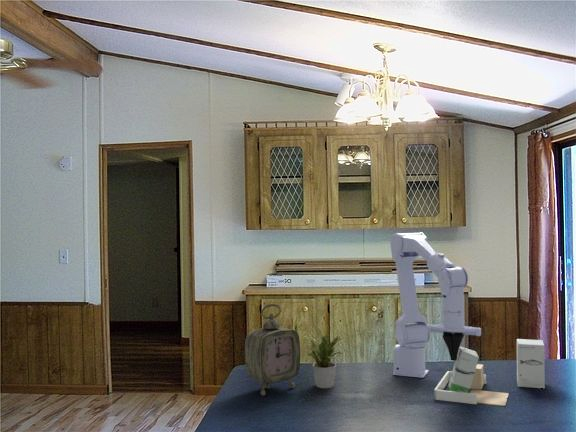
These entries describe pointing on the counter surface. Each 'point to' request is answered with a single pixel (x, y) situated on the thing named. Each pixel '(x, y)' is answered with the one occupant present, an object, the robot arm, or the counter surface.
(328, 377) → the house plant
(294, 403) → the counter surface
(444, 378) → the tray
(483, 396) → the cork mat
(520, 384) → the supplement box
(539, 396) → the counter surface
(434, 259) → the robot arm
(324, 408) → the counter surface
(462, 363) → the ink box
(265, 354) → the tabletop clock
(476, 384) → the kraft carton
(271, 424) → the counter surface
